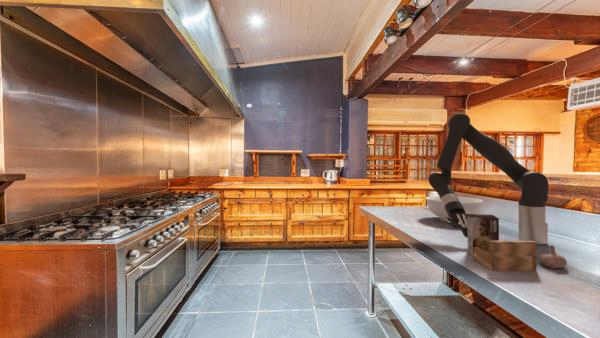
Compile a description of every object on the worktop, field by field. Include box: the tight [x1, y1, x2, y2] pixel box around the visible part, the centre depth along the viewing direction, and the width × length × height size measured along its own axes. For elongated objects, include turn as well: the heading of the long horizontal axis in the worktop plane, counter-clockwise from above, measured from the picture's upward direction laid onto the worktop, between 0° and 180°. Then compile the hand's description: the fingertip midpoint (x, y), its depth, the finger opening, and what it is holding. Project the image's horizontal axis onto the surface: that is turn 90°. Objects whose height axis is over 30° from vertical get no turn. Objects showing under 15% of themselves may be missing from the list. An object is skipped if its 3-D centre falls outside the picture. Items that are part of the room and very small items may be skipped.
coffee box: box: [467, 213, 500, 257], centre depth 98 cm, size 9×6×16 cm
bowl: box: [425, 195, 484, 222], centre depth 159 cm, size 32×32×15 cm
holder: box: [473, 240, 538, 272], centre depth 87 cm, size 15×9×10 cm, turn 88°
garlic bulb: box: [539, 244, 568, 270], centre depth 86 cm, size 8×7×8 cm
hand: (468, 236), depth 106 cm, fingers closed
